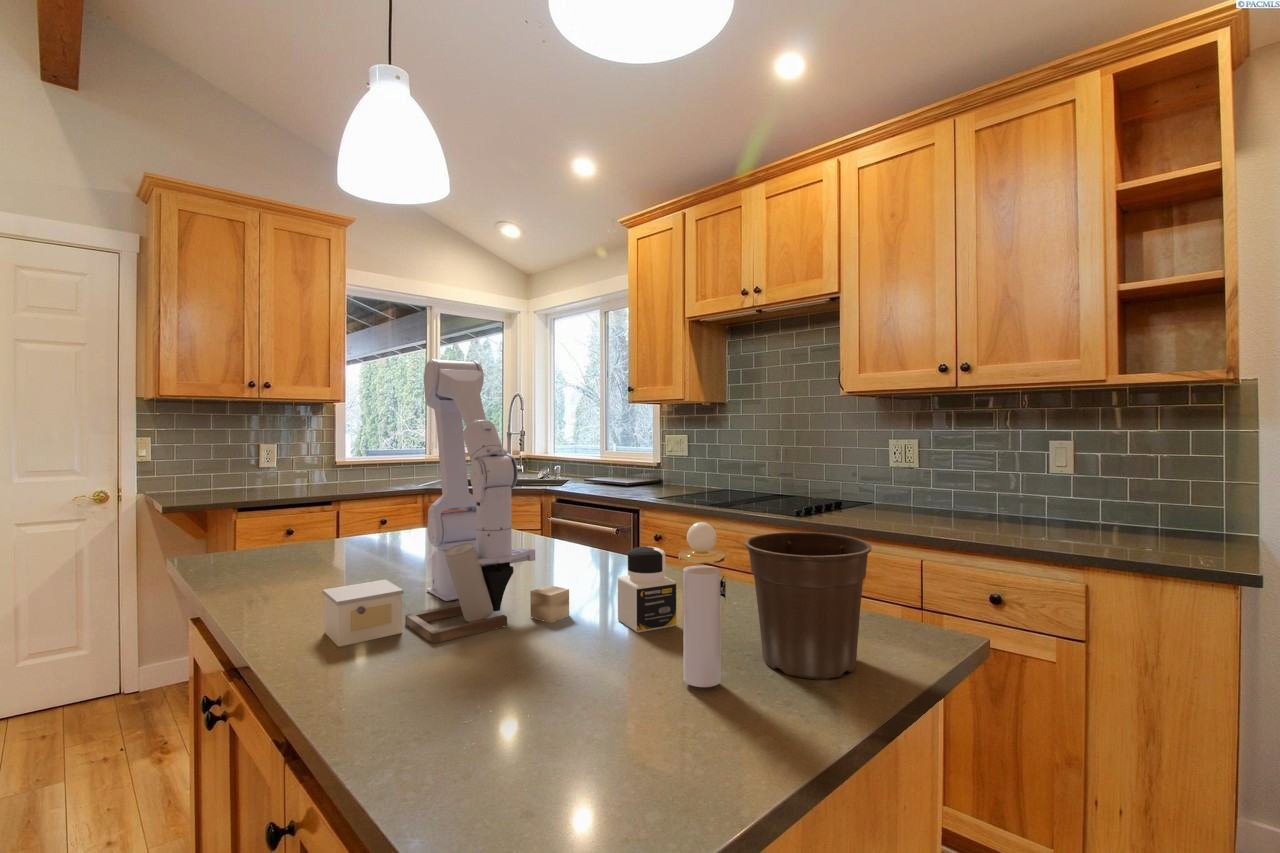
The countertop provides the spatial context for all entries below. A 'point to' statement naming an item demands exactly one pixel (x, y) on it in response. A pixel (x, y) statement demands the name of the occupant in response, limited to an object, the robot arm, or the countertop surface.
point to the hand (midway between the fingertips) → (494, 609)
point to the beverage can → (469, 582)
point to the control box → (362, 612)
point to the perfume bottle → (702, 608)
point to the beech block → (549, 603)
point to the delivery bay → (434, 636)
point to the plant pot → (809, 600)
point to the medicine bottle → (646, 592)
